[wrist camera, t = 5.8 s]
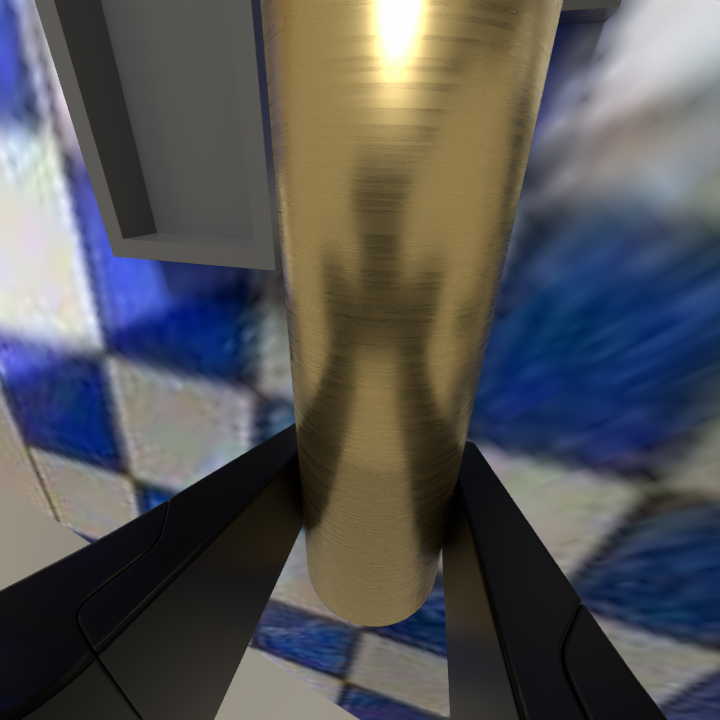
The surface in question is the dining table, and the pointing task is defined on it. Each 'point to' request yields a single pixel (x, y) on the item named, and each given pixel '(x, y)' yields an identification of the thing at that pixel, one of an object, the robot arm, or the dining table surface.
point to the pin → (393, 261)
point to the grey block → (587, 10)
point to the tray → (172, 125)
